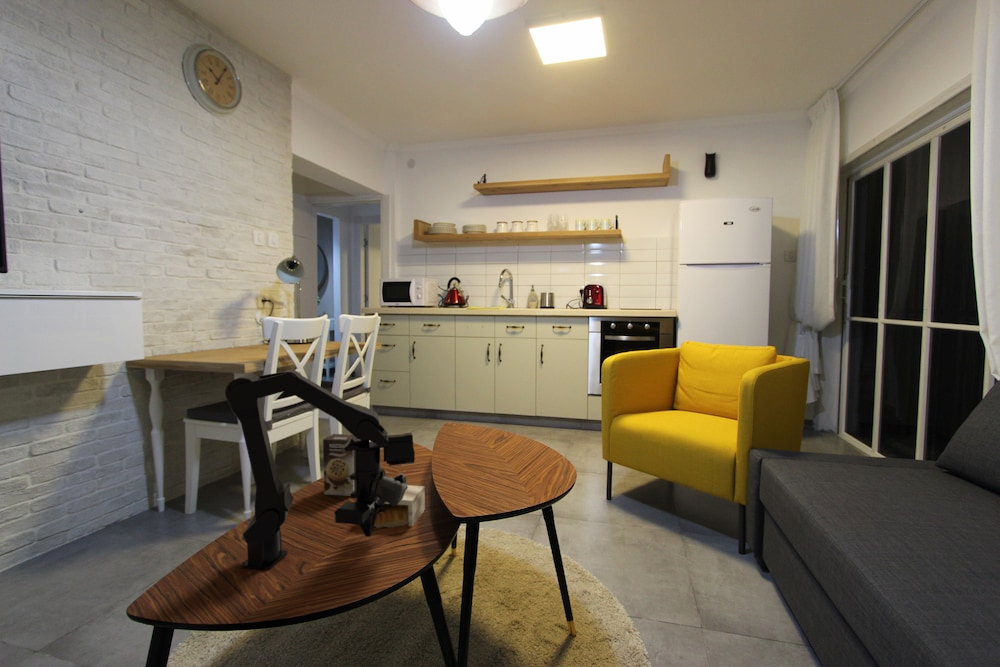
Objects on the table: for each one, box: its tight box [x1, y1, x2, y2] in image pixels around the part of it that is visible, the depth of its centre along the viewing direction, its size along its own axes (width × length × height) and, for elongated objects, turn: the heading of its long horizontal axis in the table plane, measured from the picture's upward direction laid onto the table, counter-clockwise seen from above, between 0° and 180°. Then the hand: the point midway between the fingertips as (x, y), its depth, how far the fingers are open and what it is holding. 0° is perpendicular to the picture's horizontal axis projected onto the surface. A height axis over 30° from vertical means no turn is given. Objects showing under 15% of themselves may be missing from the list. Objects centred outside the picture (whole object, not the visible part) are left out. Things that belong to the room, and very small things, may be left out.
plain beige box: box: [378, 484, 426, 527], centre depth 114 cm, size 9×13×6 cm
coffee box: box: [322, 433, 359, 497], centre depth 130 cm, size 9×6×16 cm
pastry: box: [374, 505, 409, 529], centre depth 111 cm, size 9×7×4 cm
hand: (368, 535), depth 100 cm, fingers closed
